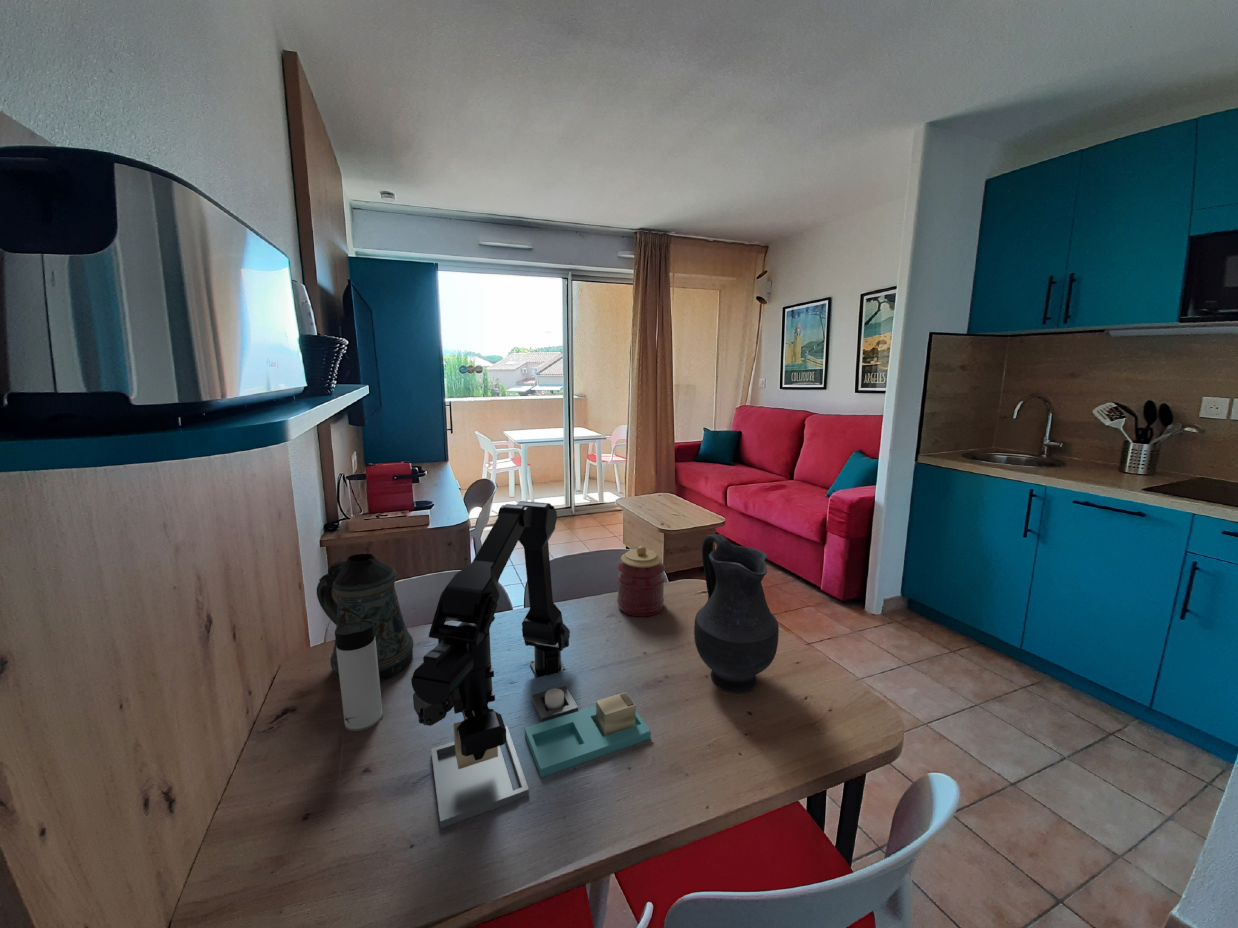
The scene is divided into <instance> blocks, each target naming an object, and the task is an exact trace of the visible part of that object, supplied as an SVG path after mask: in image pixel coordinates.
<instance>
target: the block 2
mask: <svg viewBox="0 0 1238 928" xmlns="http://www.w3.org/2000/svg"><path fill="white" fill-rule="evenodd" d="M595 703H596V704H595V706H596V726H597V727H598V729H599V731H600V732H601V734H602V736H603V737H604V736H607V735H610V734H613V733H616V732H619V731H622V730H625V729H628V728H631V727H634V726H635V717H636V711H637V710H636V709H637V707H636V704H635V702H634V701H633V699H632V698H631V697H630V696H629V694H628V693H627V692H626V691H624V692H622V693H618V694H615V695H611V696H608V697H604V698H601V699H598V700H596V702H595Z"/></svg>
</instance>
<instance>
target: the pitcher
mask: <svg viewBox="0 0 1238 928" xmlns="http://www.w3.org/2000/svg"><path fill="white" fill-rule="evenodd" d="M714 542H715V545H716V548H714ZM701 556H702V557H701V558H702V564H703V565H702V566H703V571H704V577H705V579H704V580H705V584H706V591H707V601H706V603H705V604H704V605H703V606H702V607H701V608H700V609H699V610H697V612H696V615H695V618H694V625H693V635H694V636H693V638H694V643H695V647H696V650H697V653H698V654H699V657H700V658H701V660H702V661H703V662H704V664H705V665H706V666H707V668H709V670H710V678H711V681H712V683H713V684H714V685H715V686H716V687H717V688H719V689H721V690H723V691H725V692H728V693H732V694H733V693H735V694H742V693H747V692H749V691H752V690H753V689H754V688H756V686H757V684H758V683H757V675H759V674H761V673H762V672H764V671H765V670H767V668H769V666H770V665H771V664H772V663H773V662H774V661H773V660H775V658H776V657H775V656H776V654H777V651H778V644H779V635H780V634H779V633H780V632H779V630H780V629H779V627H780V626H779V622H778V620H777V618H776V616H775V615H774V614H773V613H772V612H771V610H770V607H769V606H768V602H767V600H766V595H765V592H764V591H765V590H764V587H763V584H762V581H763V579H764V577H765V576H766V574H767V572H768V568H767V565H766V561H767V559H768V554H767V553H765V552H764V551H762V550H761V549H760V550H759V549H757V548H753V547H749V546H741V545H734V544H732V543H731V542H730V541H729V540H728V539H727V538H726V537H725V536H724V535H722V534H719V533H717V534H708V535H706V536H705V537H704V539H703V541H702V545H701Z"/></svg>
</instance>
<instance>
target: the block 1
mask: <svg viewBox="0 0 1238 928" xmlns="http://www.w3.org/2000/svg"><path fill="white" fill-rule="evenodd" d="M462 722H463V720H462V721H461V720H460V721H459V722H455V723H453V724H452V725H453V736H454V737H453V739H454V741H455V753H456V759H457V764H458V769H461V768H464V767H468V766H471V765H474V764H477V763H480V762H483V761H486V760H489V759H492V758H495V757H498V747H495V748H491V749H488V750H486V752H485V754H484V756H483V758H482V759H480V760H475V758H474V755H469V756H464V755H462V754H461V749H460V744H459V738H458V733H457V728H458V726H459V725H460V724H461V723H462ZM454 741H453V742H454Z"/></svg>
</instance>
